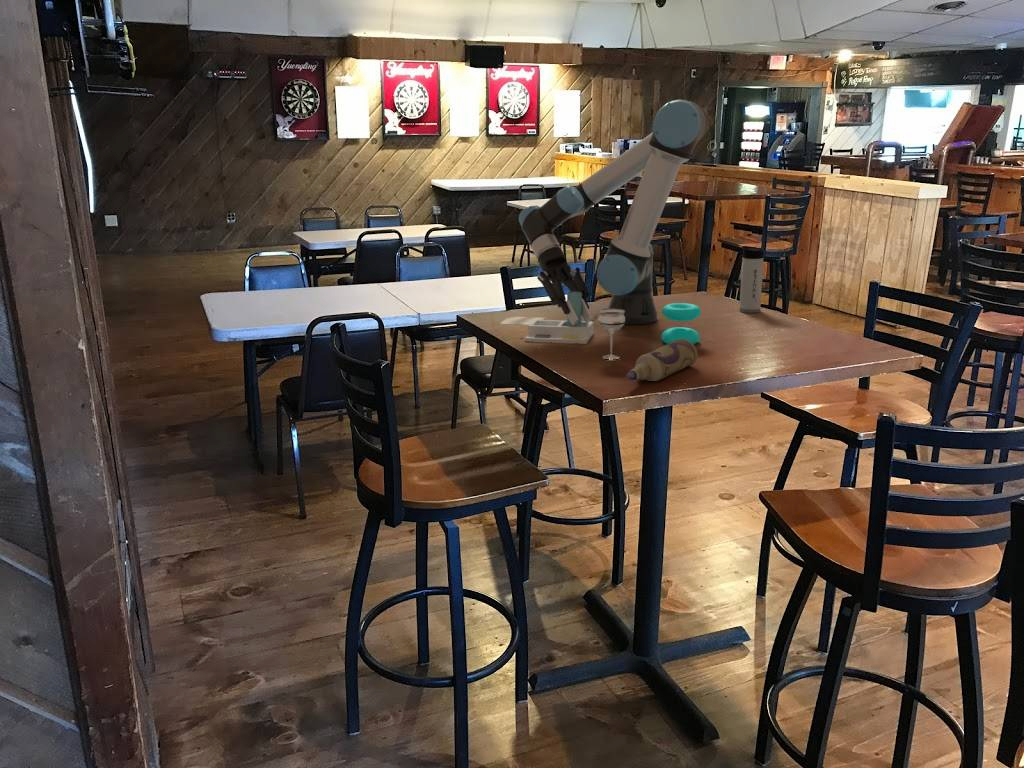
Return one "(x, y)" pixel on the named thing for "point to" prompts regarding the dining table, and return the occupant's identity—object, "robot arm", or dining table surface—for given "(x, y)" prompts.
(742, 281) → the travel mug
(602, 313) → the wineglass
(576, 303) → the green rectangular block
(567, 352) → the dining table surface
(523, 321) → the deck
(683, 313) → the donuts
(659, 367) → the decorative bottle
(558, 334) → the divided storage tray
